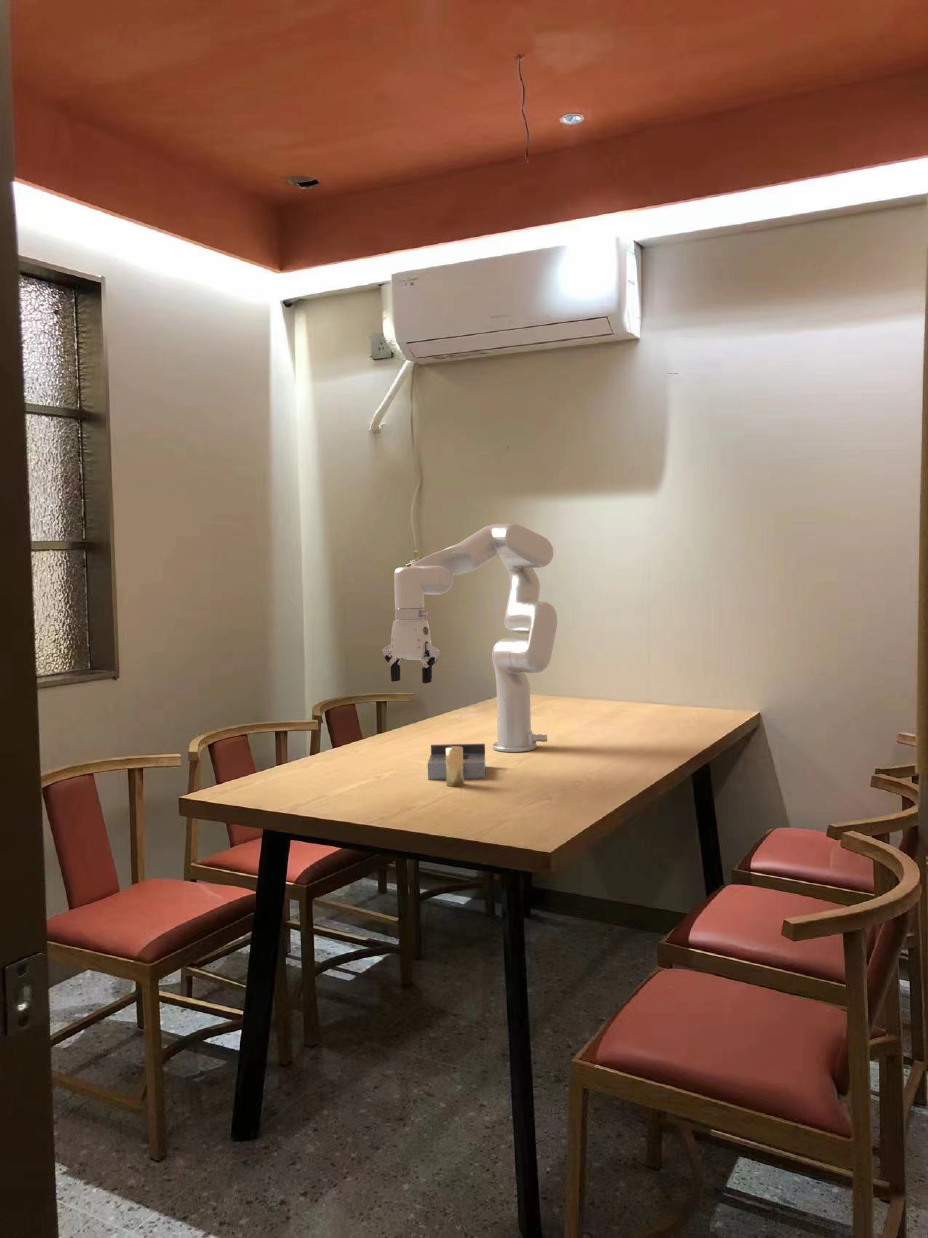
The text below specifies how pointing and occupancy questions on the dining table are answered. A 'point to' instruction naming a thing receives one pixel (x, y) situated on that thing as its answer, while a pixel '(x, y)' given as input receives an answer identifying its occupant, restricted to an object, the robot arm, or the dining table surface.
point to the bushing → (454, 766)
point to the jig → (471, 761)
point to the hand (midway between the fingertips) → (411, 681)
